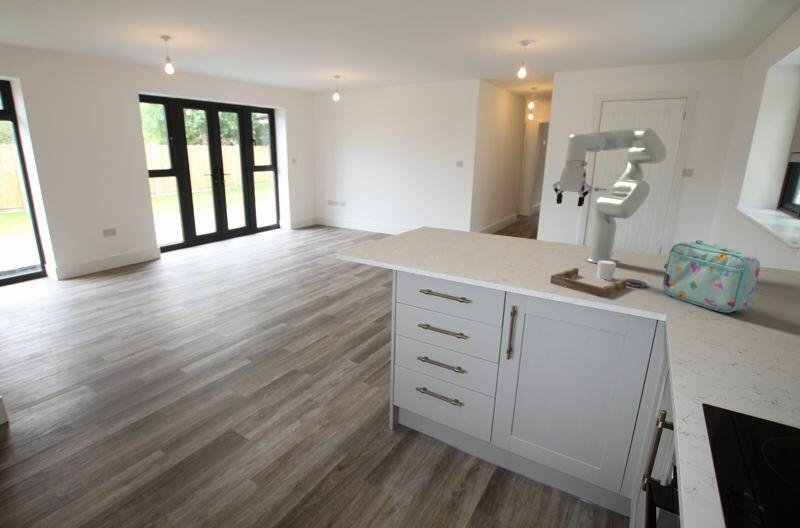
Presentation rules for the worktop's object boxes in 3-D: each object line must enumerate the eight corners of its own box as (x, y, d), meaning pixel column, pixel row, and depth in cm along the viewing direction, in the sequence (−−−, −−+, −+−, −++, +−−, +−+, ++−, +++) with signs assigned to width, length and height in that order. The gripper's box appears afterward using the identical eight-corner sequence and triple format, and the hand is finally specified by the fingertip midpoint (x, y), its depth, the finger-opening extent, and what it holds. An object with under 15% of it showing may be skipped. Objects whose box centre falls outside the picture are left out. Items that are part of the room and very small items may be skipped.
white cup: (615, 281, 166) (618, 264, 164) (597, 279, 167) (600, 263, 165) (611, 276, 172) (613, 260, 170) (593, 275, 174) (596, 259, 172)
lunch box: (654, 292, 153) (665, 236, 148) (672, 289, 157) (684, 235, 151) (731, 319, 129) (748, 254, 124) (751, 314, 133) (768, 251, 127)
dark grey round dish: (626, 279, 168) (626, 277, 168) (650, 285, 161) (650, 282, 161) (617, 283, 162) (617, 281, 162) (641, 289, 156) (641, 287, 156)
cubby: (574, 274, 174) (575, 267, 173) (625, 287, 159) (627, 279, 158) (550, 282, 162) (551, 275, 161) (603, 297, 146) (604, 289, 146)
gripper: (599, 165, 169) (593, 206, 173) (560, 163, 181) (555, 202, 186) (590, 165, 164) (584, 207, 168) (551, 163, 177) (546, 203, 181)
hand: (569, 204), depth 177 cm, fingers open, 9 cm apart
